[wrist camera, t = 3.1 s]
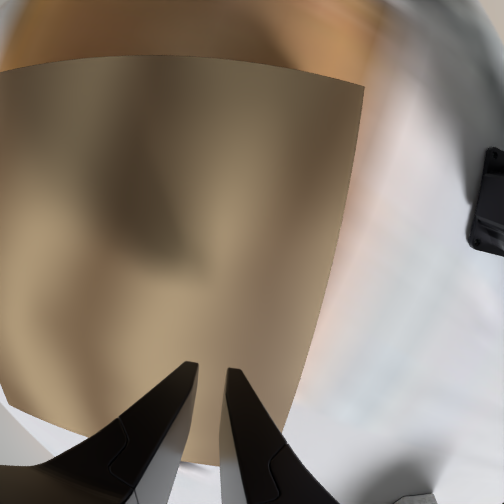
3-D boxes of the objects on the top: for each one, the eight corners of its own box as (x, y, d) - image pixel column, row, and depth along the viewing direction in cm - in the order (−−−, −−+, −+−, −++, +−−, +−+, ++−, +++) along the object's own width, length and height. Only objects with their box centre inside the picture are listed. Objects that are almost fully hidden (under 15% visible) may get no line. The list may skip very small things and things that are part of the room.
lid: (358, 89, 9) (364, 86, 9) (267, 462, 15) (267, 470, 14) (-16, 79, 9) (-24, 78, 8) (13, 399, 14) (8, 404, 13)
